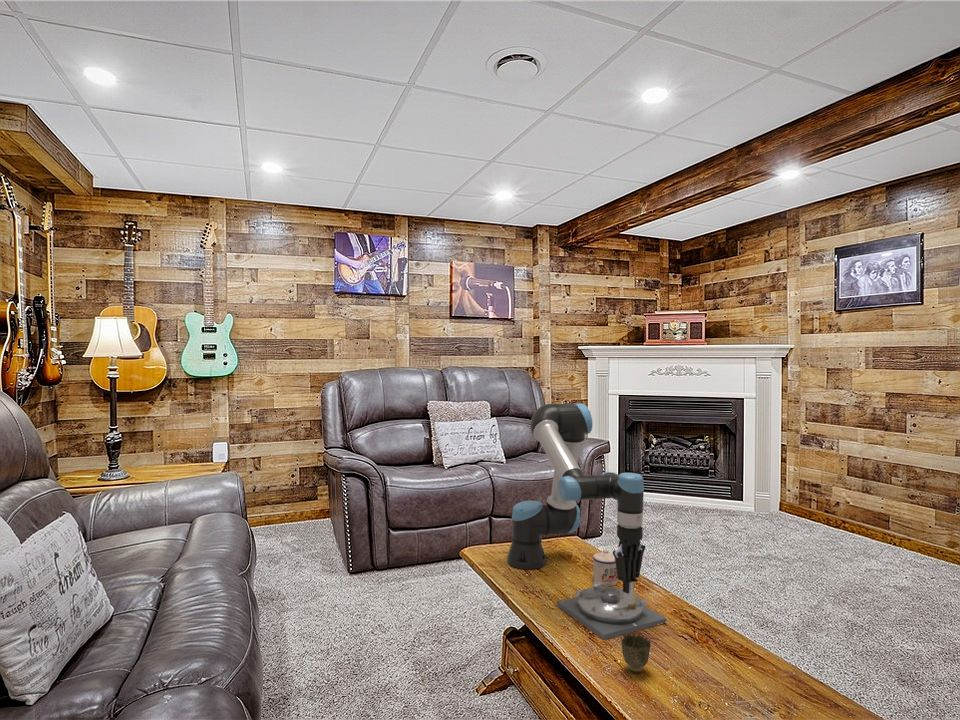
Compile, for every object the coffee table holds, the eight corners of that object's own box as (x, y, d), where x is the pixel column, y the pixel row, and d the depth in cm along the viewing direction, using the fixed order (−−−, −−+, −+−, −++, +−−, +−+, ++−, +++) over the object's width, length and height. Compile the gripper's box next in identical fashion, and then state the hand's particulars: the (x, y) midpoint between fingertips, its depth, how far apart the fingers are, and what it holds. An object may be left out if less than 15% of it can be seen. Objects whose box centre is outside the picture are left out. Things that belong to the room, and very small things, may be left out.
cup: (628, 659, 153) (628, 630, 153) (654, 669, 148) (655, 639, 148) (615, 671, 147) (616, 640, 147) (642, 682, 143) (643, 650, 142)
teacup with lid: (602, 588, 199) (603, 555, 199) (587, 578, 207) (588, 547, 207) (630, 583, 204) (630, 551, 203) (614, 574, 212) (614, 543, 212)
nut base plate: (557, 605, 185) (557, 600, 185) (615, 592, 195) (615, 587, 195) (603, 639, 163) (604, 634, 163) (666, 623, 174) (666, 617, 174)
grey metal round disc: (562, 607, 180) (562, 582, 179) (604, 588, 194) (605, 565, 194) (616, 632, 164) (616, 604, 164) (657, 609, 179) (658, 584, 179)
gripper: (626, 531, 165) (624, 612, 165) (653, 524, 173) (651, 601, 173) (606, 525, 171) (604, 603, 171) (633, 518, 179) (631, 593, 179)
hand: (628, 602), depth 172 cm, fingers closed
